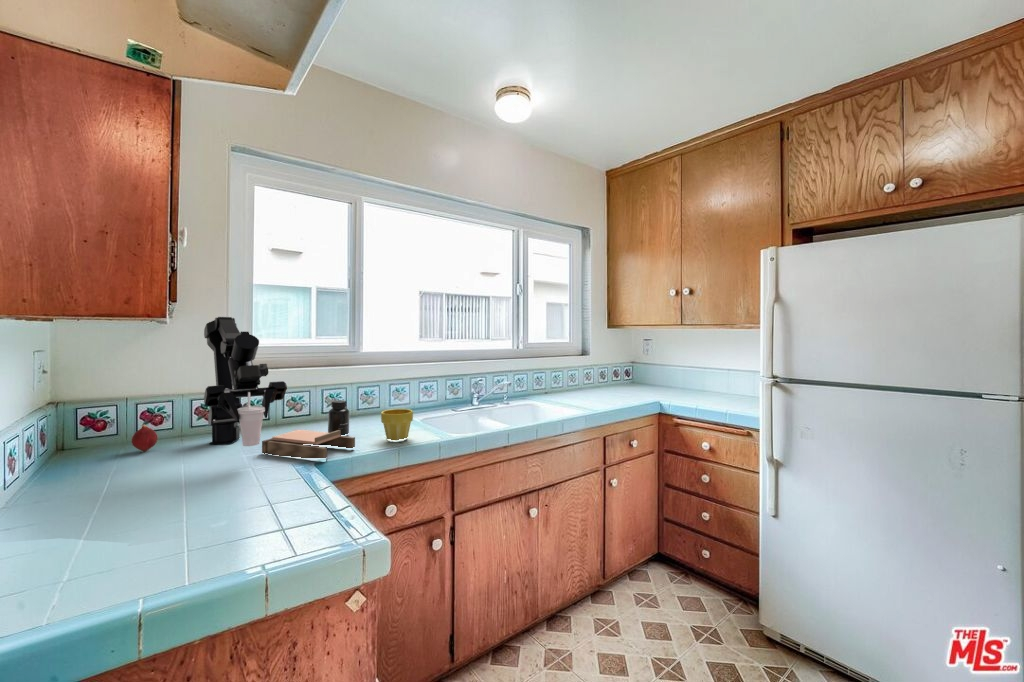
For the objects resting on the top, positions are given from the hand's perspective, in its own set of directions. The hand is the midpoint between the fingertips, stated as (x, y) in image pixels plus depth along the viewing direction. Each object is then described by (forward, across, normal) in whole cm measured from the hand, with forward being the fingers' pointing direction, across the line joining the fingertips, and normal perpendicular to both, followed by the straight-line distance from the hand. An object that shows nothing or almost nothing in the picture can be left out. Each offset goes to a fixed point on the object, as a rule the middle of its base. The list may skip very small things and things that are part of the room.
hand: (252, 418), depth 112 cm
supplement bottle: (-4, +31, +24) cm, 39 cm away
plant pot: (+8, +43, +11) cm, 45 cm away
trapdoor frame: (+5, +16, +13) cm, 22 cm away
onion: (-17, -20, +36) cm, 44 cm away
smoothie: (+4, 0, +6) cm, 7 cm away
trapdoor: (+4, +16, +13) cm, 21 cm away
